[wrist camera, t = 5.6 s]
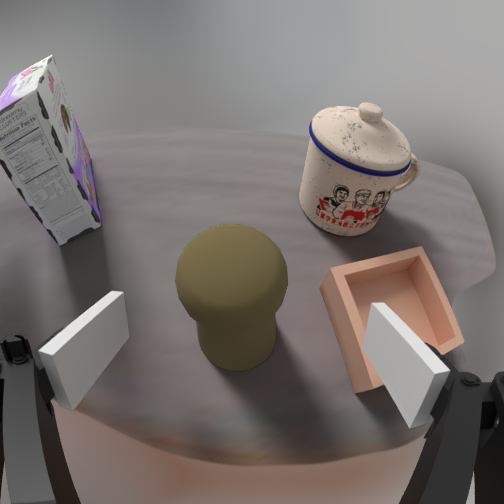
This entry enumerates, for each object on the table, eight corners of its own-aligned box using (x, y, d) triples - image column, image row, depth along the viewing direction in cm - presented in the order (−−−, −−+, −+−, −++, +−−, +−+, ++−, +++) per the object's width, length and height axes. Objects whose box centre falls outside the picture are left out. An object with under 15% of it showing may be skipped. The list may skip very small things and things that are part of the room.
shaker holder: (354, 393, 18) (373, 389, 15) (319, 288, 23) (330, 267, 20) (441, 353, 20) (464, 341, 17) (404, 265, 24) (421, 245, 21)
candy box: (56, 174, 31) (10, 76, 17) (91, 156, 33) (54, 52, 19) (58, 248, 25) (-25, 126, 11) (104, 225, 26) (36, 85, 12)
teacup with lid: (304, 242, 26) (334, 135, 16) (290, 173, 30) (303, 77, 21) (412, 238, 26) (468, 155, 16) (385, 176, 31) (418, 96, 21)
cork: (289, 316, 22) (322, 234, 13) (254, 385, 19) (263, 357, 10) (222, 284, 23) (206, 188, 14) (183, 347, 20) (131, 284, 11)
